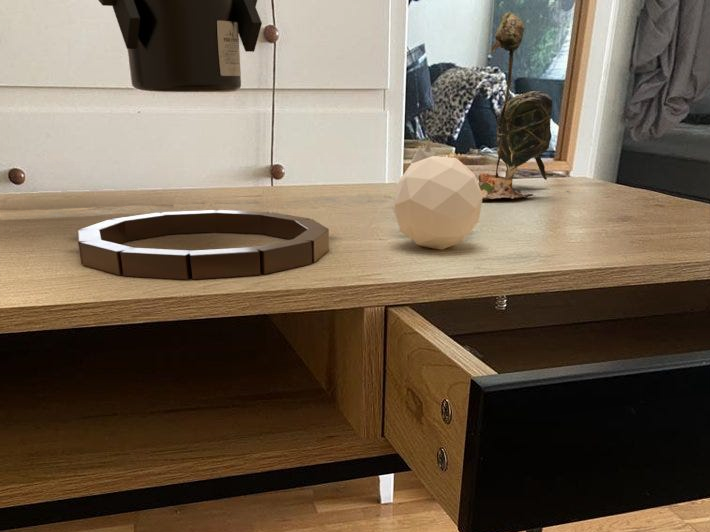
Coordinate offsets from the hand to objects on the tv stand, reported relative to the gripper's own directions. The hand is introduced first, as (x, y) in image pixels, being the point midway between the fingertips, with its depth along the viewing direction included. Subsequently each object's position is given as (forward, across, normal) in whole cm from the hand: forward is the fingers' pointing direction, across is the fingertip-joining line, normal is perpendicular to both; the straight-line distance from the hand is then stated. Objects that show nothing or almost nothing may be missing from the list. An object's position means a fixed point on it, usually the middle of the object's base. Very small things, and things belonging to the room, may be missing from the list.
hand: (195, 35), depth 59 cm
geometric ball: (+17, +19, +7) cm, 26 cm away
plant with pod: (+1, +44, +22) cm, 49 cm away
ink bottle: (+1, 0, +5) cm, 5 cm away
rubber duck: (+7, +26, +17) cm, 32 cm away
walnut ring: (+11, 0, +12) cm, 16 cm away
